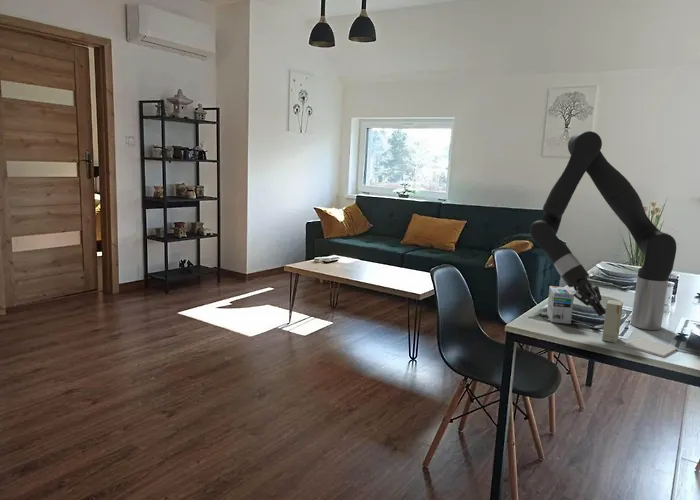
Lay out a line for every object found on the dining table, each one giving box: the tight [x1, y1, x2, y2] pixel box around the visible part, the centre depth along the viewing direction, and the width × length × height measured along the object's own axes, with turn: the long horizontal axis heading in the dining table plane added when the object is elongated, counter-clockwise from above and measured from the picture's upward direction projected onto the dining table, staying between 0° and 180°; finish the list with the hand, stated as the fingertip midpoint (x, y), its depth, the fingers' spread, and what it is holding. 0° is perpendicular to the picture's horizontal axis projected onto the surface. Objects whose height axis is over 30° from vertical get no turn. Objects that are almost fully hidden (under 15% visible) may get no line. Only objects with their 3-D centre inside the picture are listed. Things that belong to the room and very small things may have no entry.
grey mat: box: [624, 337, 678, 358], centre depth 160 cm, size 11×11×1 cm
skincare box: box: [601, 299, 624, 343], centre depth 165 cm, size 6×4×12 cm
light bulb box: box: [546, 285, 575, 325], centre depth 185 cm, size 11×7×11 cm, turn 168°
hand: (603, 314), depth 167 cm, fingers closed
